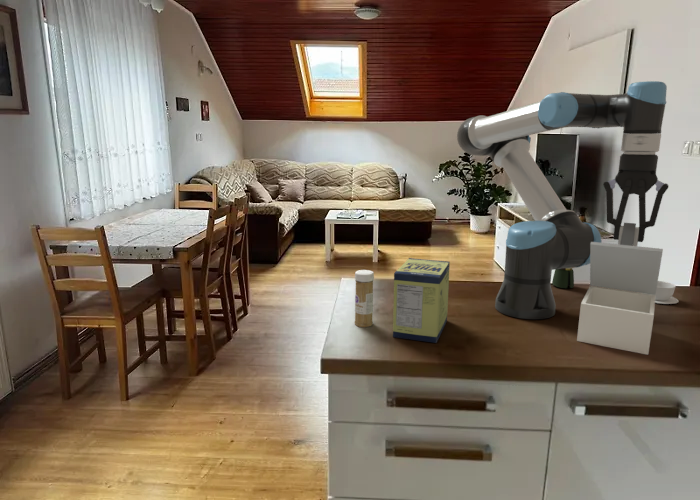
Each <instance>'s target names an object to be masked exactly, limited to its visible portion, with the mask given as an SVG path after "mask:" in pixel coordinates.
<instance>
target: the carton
mask: <svg viewBox="0 0 700 500" xmlns="http://www.w3.org/2000/svg"><path fill="white" fill-rule="evenodd" d="M655 305H656V303H655V295H651V294H644V293H639V292H632V291H625V290H618V289H611V288H604V287H597V286H590V285H589V287H588V289H587V291H586V293H585V295H584V296H583V299H582V300H581V302H580V309H579V318H578V319H579V320H578V327H577V328H578V329H577V335H576V336H577V337H576V341H577V342H580V343H581V342H582V343H585V344H589V345H590V344H591V345H596V346H601V347H606V348H611V349H617V350H622V351H627V352H632V353H636V354H641V355H649V352H650V344H651V340H652V339H651V338H652V332H653V324H654V317H655V308H656V306H655Z"/></svg>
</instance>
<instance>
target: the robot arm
mask: <svg viewBox="0 0 700 500" xmlns="http://www.w3.org/2000/svg"><path fill="white" fill-rule="evenodd" d="M666 104H667V84H666V83H665V82H664V81H654V80H653V81H651V80H650V81H648V80H647V81H636V82H632V83H631V84H629V86H628V89H627V91H626V93H620V94H593V93H591V94H590V93H589V94H588V93H587V94H586V93H575V92H573V93H572V92H564V91H561V92H552V93H548V94H547V95H545V96H544V98H542V99H541V100H539V101H537V102H534V103H531V104H527V105H523V106H520V107H519V106H518V107H517V108H514V109H509V110H507V111H503V112H500V113H496V114H492V115H489V116H486V115H483V114H482V115H477V116H473V117H469V118H467V119H466V120H464V121H463V122H462V123H461V124H460V125H459V127H458V130H457V134H456V135H457V136H456V138H457V139H456V140H457V144H458V145H459V147H460V148H461V149H462V151H463V152H465V153H467V154H469V155H471V156H475V157H476V156H477V157H478V156H479V157H482V156H487V157H488V156H489V157H490V159H491V160H492V162H493V163H494V165H495V166H496V167H498V168H503V170H504V172H505V173H506V175H507V177H508V179H509V180H510V182H511V183H512V185H513V187H514V188H515V190H516V191H517V194H518V195H519V197H520V198H521V200H522V201H523V203H524V205H525V207H526V208H527V210H528V211H529V213H530V215H531V216H532V218H533V220H525V221H520V222H516V223H514V224H512V225H511V226H510V227H509V228H508V230H507V235H506V236H507V238H506V240H505V260H504V261H505V263H504V273H503V274H504V275H503V281H502V283H501V286H500V289H499V290H498V293H497V294H496V297H495V301H494V302H495V305H494V307H495V309H496V311H498V312H499V313H501V314H503V315H506V316H509V317H513V318H518V319H524V320H544V319H549V318H551V317H553V316H555V314H556V307H557V306H556V302H555V297H554V294H553V290H552V281H551V280H552V273H553V272H552V271H553V270H554V271H555V269H563V268H571V267H575V268H580V267H583V266H588V265H590V244H591V242H599V243H603V242H602V235H601V233H600V230H599V229H598V228H597V227H596V226H595V225H594V224H592V223H589V222H582V220H581V218H580V217H579V216H578V214H577V213H576V212H575V210H570V209H567V208H566V206H564V204H563V201H561V199H560V197H559V196H558V195H557V192H555V190H554V189H553V187H552V185H551V184H550V182H549V181H548V178H546V176H545V175H544V173H543V172H542V170H541V169H540V167H539V165H538V164H537V163H536V161H535V159H534V158H533V156H532V155H531V153H530V148H531V136H532V135H536V134H540V133H545V132H549V131H553V130H554V131H555V130H559V129H560V130H561V129H564V128H592V129H602V128H618V127H619V128H623V129H622V130H623V132H622V138H621V147H620V151H621V152H623V153H622V154H621V155H620V156H619V162H618V163H619V165H618V172H617V174H616V175H615V177H614V178H613V179H611V180H606V181H604V182H603V187H604V190H605V192H606V193H605V194H606V195H605V197H606V199H605V201H606V222H607V224H611V225H613V226H614V229H613V240H614V241H615V240H616V241H617V244H619V245H620V243H621V237H622V232H623V226H624V225H622V223H623V219H624V215H625V212H626V207H627V204H628V200H629V198H630V197H629V196H630V195H637V196H638V217H639V218H638V226H636V228H635V235H634V243H633V246H638V245H639V244H638V243H643V241H645V240H644V239H645V234H646V233H645V232H646V229H647V228H650V227H651V228H652V227H655V225H656V222H657V218H658V214H659V211H660V206H661V203H662V200H663V196H664V194H665V193H666V192H667V190H668V189H669V184H668V183H665V182H662V181H660V180H659V179H658V176H657V168H658V160H659V156H658V154H656V153H658V152H659V151H660V145H661V138H662V127H663V126H662V125H663V122H664V121H663V120H664V115H665V109H666ZM616 184H617V185H618V187H619V188H620V190H621V191H622V194H621V199H620V204H619V206H618V210H617V214H616V218H614V189H615V187H616ZM653 186H656V187H655V190H656V192H657V193H656V195H655V198H654V203H653V207H652V211H651V214H650V216H649V220H646V219H647V218H646V217H647V212H646V211H647V210H646V209H647V207H646V205H647V204H646V197H647V195H646V193H648V192H649V190H650V189H652V188H653Z"/></svg>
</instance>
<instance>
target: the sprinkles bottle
mask: <svg viewBox="0 0 700 500" xmlns="http://www.w3.org/2000/svg"><path fill="white" fill-rule="evenodd" d="M374 279H375V273H374V271H372V270H369V269H360V270H356V271H355V273H354V280H355V298H354V312H355V313H354V326H356V327H359V328H368V327H371V326H373V324H374V323H373V313H374Z"/></svg>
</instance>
